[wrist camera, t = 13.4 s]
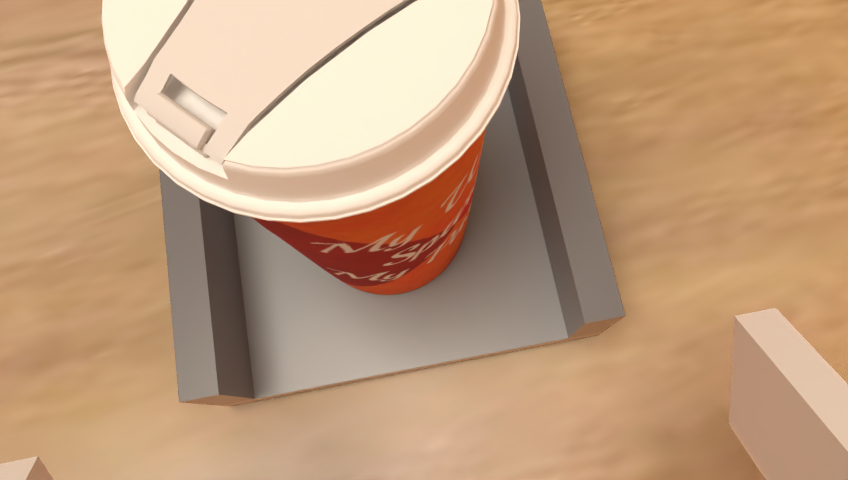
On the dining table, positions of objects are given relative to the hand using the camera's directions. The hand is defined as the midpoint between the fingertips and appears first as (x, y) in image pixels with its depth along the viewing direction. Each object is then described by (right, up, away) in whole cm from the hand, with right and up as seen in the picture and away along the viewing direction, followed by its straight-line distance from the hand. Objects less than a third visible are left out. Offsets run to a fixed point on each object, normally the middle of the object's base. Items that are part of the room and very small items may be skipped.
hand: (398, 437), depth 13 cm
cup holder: (-1, +4, +13) cm, 14 cm away
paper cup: (-1, +5, +12) cm, 13 cm away
